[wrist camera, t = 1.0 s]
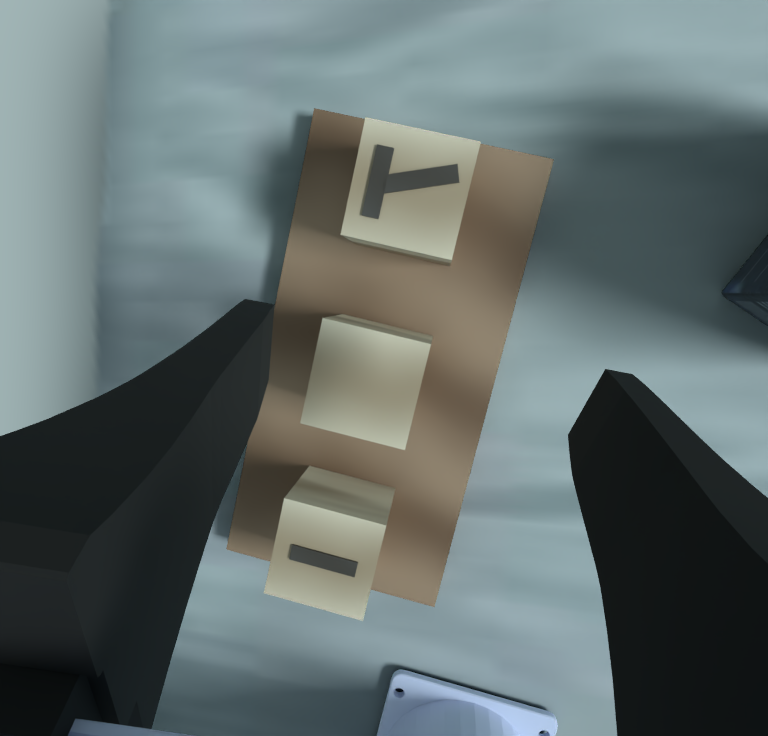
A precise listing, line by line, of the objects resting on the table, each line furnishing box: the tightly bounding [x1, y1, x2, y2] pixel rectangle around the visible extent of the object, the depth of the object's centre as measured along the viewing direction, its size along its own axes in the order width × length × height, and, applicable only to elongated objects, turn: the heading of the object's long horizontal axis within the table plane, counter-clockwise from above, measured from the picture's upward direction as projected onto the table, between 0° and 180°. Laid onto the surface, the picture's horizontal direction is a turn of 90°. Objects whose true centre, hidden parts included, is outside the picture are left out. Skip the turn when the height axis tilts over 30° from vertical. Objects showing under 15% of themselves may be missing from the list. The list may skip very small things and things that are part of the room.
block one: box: [264, 466, 395, 621], centre depth 23 cm, size 4×4×4 cm
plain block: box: [300, 314, 433, 450], centre depth 22 cm, size 4×4×4 cm
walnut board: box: [227, 108, 554, 607], centre depth 24 cm, size 20×10×1 cm, turn 167°
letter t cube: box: [340, 117, 481, 266], centre depth 21 cm, size 4×4×4 cm
